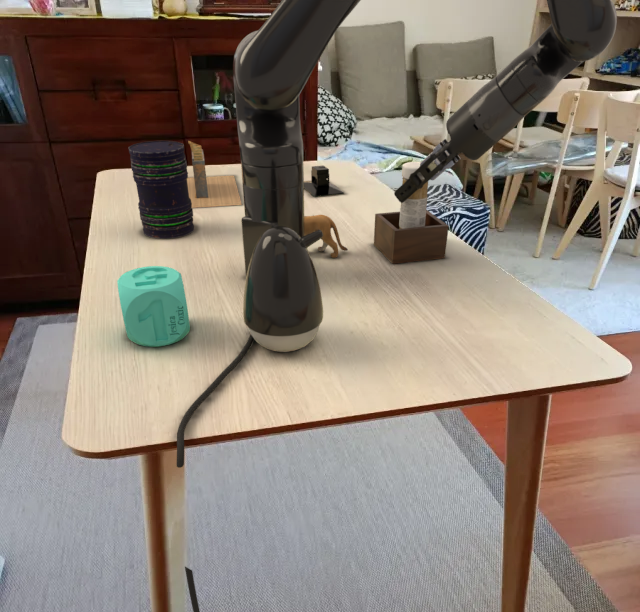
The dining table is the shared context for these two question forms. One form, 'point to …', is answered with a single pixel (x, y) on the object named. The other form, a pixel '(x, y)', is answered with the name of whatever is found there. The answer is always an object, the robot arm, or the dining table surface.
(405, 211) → the sprinkles bottle
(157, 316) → the decorative dice
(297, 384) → the dining table surface
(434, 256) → the box
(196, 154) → the ruin model on sheet
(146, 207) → the dark barrel
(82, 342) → the dining table surface
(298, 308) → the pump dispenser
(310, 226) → the lion figurine
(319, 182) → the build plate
